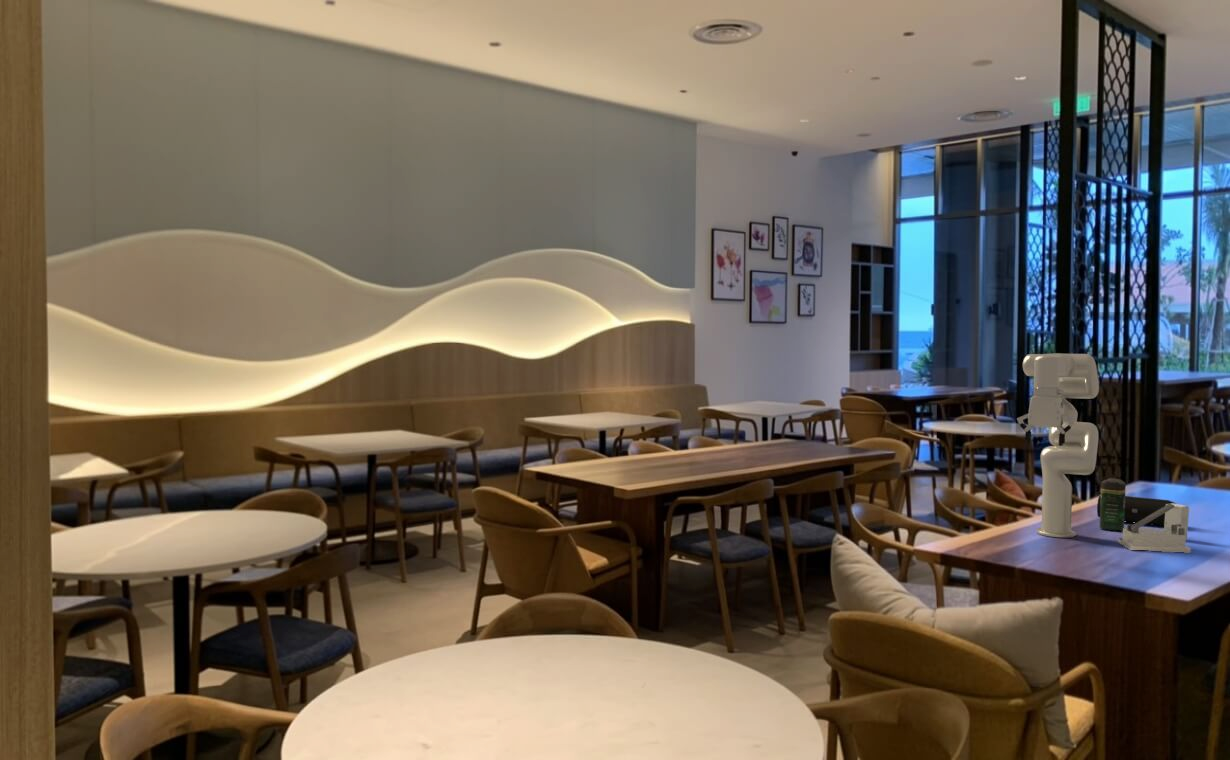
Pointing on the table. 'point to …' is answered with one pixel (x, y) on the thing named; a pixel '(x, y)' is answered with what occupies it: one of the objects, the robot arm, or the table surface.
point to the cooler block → (1155, 539)
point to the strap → (1152, 516)
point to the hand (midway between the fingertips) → (1044, 444)
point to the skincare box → (1177, 517)
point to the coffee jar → (1112, 504)
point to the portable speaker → (1141, 509)
